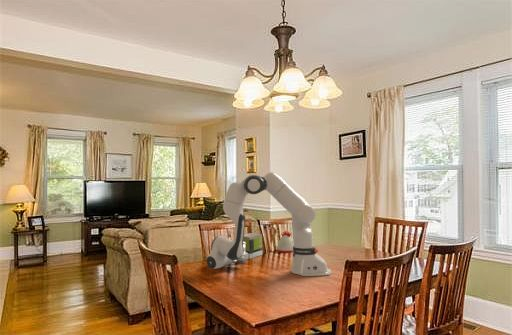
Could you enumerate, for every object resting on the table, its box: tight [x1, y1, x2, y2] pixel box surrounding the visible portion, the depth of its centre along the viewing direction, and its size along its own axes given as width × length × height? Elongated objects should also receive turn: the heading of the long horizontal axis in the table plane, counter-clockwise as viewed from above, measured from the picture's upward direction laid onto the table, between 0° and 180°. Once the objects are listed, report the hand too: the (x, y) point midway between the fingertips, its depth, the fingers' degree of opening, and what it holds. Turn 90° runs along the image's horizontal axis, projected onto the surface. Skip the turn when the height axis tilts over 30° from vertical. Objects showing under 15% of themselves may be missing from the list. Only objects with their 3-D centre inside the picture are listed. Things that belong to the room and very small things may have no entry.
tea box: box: [243, 232, 263, 260], centre depth 237 cm, size 15×10×15 cm
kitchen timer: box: [276, 230, 294, 254], centre depth 254 cm, size 14×14×15 cm
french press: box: [236, 241, 247, 265], centre depth 219 cm, size 8×6×16 cm
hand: (239, 252), depth 216 cm, fingers open, 8 cm apart
